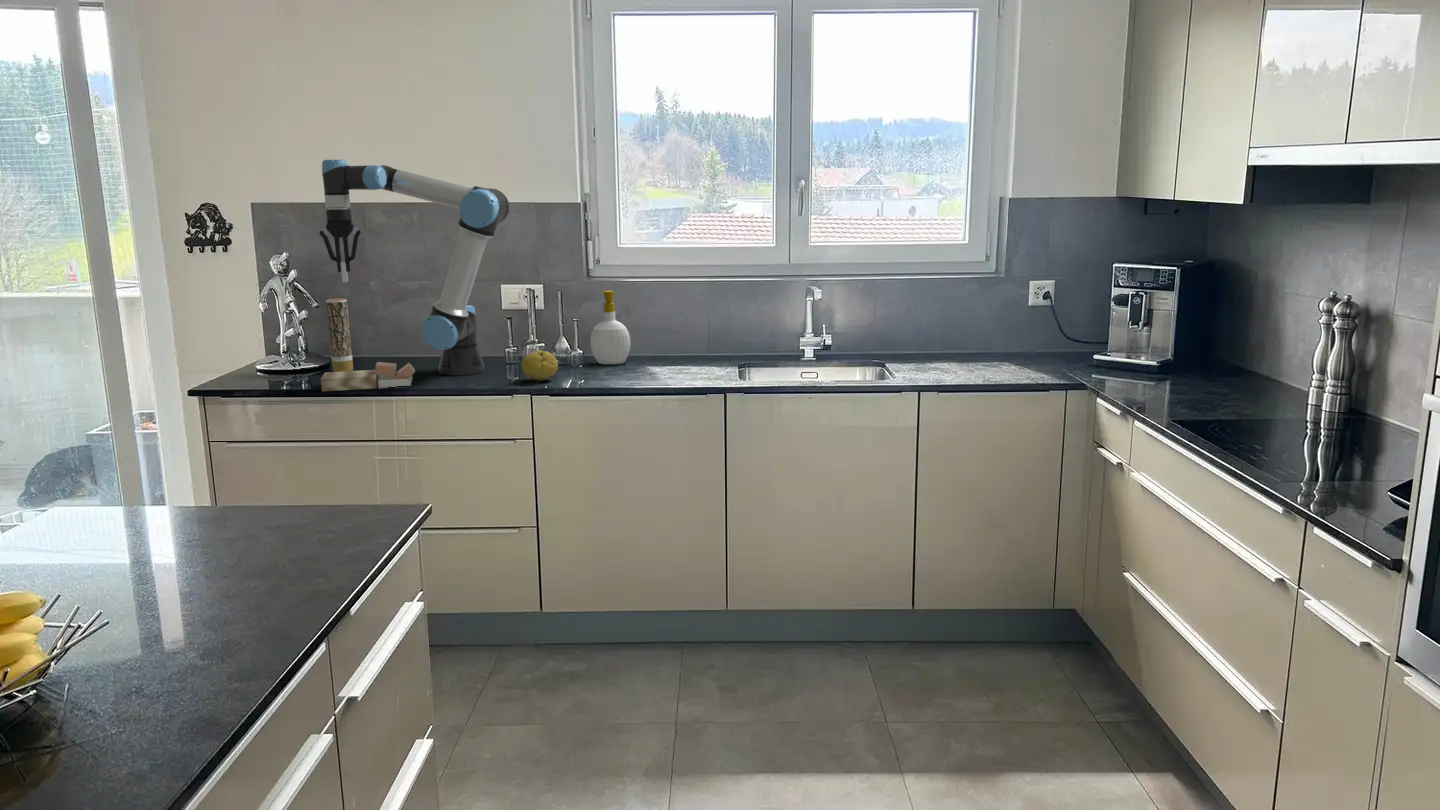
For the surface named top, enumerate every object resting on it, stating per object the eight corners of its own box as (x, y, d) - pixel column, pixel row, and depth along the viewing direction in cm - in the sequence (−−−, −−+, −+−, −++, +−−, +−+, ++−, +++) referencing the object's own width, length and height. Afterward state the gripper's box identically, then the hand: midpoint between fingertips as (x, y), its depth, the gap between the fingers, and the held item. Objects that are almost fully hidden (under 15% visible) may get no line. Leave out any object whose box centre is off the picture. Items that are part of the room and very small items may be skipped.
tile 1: (395, 372, 330) (396, 363, 329) (394, 376, 324) (395, 366, 324) (376, 370, 328) (377, 361, 328) (375, 374, 323) (375, 365, 322)
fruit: (521, 378, 334) (519, 349, 332) (557, 376, 337) (555, 347, 334) (522, 385, 324) (521, 354, 321) (559, 383, 326) (558, 352, 324)
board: (379, 381, 332) (378, 369, 331) (376, 388, 321) (375, 376, 320) (326, 384, 328) (325, 372, 327) (321, 391, 317) (320, 379, 316)
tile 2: (394, 373, 330) (400, 380, 331) (393, 377, 324) (399, 384, 325) (409, 362, 330) (415, 369, 331) (408, 365, 325) (414, 372, 326)
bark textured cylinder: (346, 373, 345) (339, 301, 339) (328, 373, 346) (321, 300, 340) (357, 370, 351) (350, 298, 346) (339, 369, 353) (332, 298, 347)
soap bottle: (632, 361, 363) (630, 288, 357) (629, 365, 354) (627, 291, 348) (593, 361, 363) (590, 289, 357) (589, 365, 355) (586, 292, 349)
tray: (412, 379, 335) (411, 371, 334) (410, 386, 323) (410, 378, 323) (381, 381, 332) (380, 373, 332) (378, 388, 321) (377, 380, 320)
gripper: (360, 207, 329) (367, 280, 334) (318, 208, 326) (325, 281, 331) (358, 208, 322) (365, 282, 327) (315, 209, 319) (322, 283, 324)
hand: (345, 281), depth 329 cm, fingers closed
